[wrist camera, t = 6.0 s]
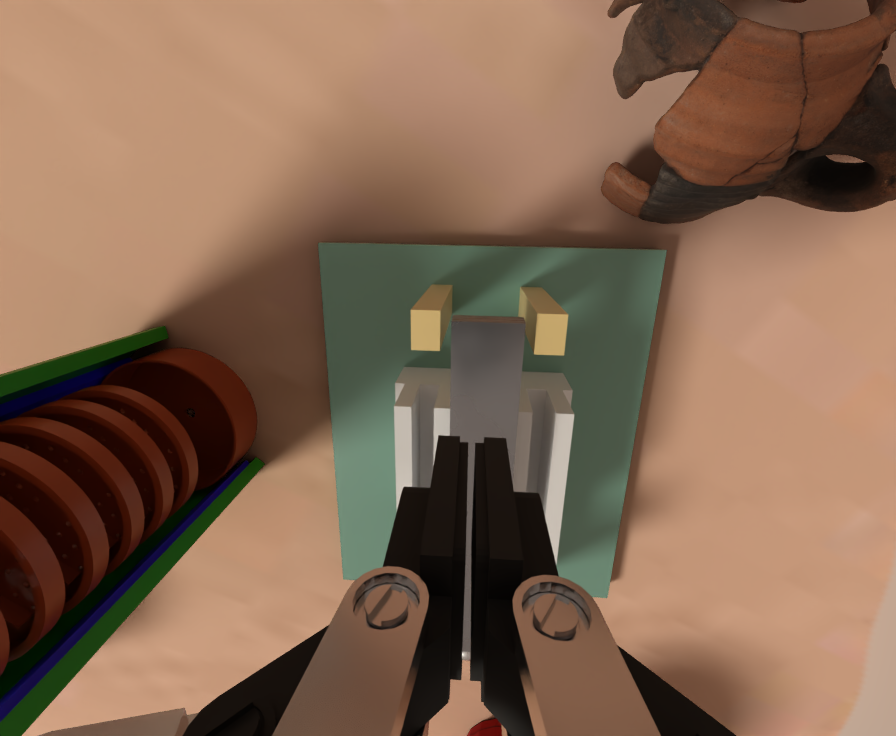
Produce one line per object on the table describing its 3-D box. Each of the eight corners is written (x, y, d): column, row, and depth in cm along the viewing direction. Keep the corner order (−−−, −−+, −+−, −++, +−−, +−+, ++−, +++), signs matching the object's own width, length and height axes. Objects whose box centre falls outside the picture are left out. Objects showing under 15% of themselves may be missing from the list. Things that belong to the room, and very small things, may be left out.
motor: (300, 432, 25) (-278, 1098, 6) (209, 515, 27) (-414, 1183, 8) (159, 301, 23) (-1353, 665, 4) (74, 403, 25) (-1133, 934, 6)
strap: (450, 314, 15) (448, 321, 14) (526, 316, 15) (529, 324, 14) (445, 642, 21) (443, 663, 20) (498, 647, 21) (499, 668, 20)
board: (325, 242, 21) (239, 251, 14) (658, 249, 20) (763, 263, 13) (348, 567, 28) (297, 696, 20) (602, 584, 27) (651, 727, 19)
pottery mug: (532, 180, 20) (577, -5, 12) (632, 40, 22) (730, -207, 14) (773, 314, 18) (1011, 200, 10) (864, 151, 20) (1135, -59, 12)
